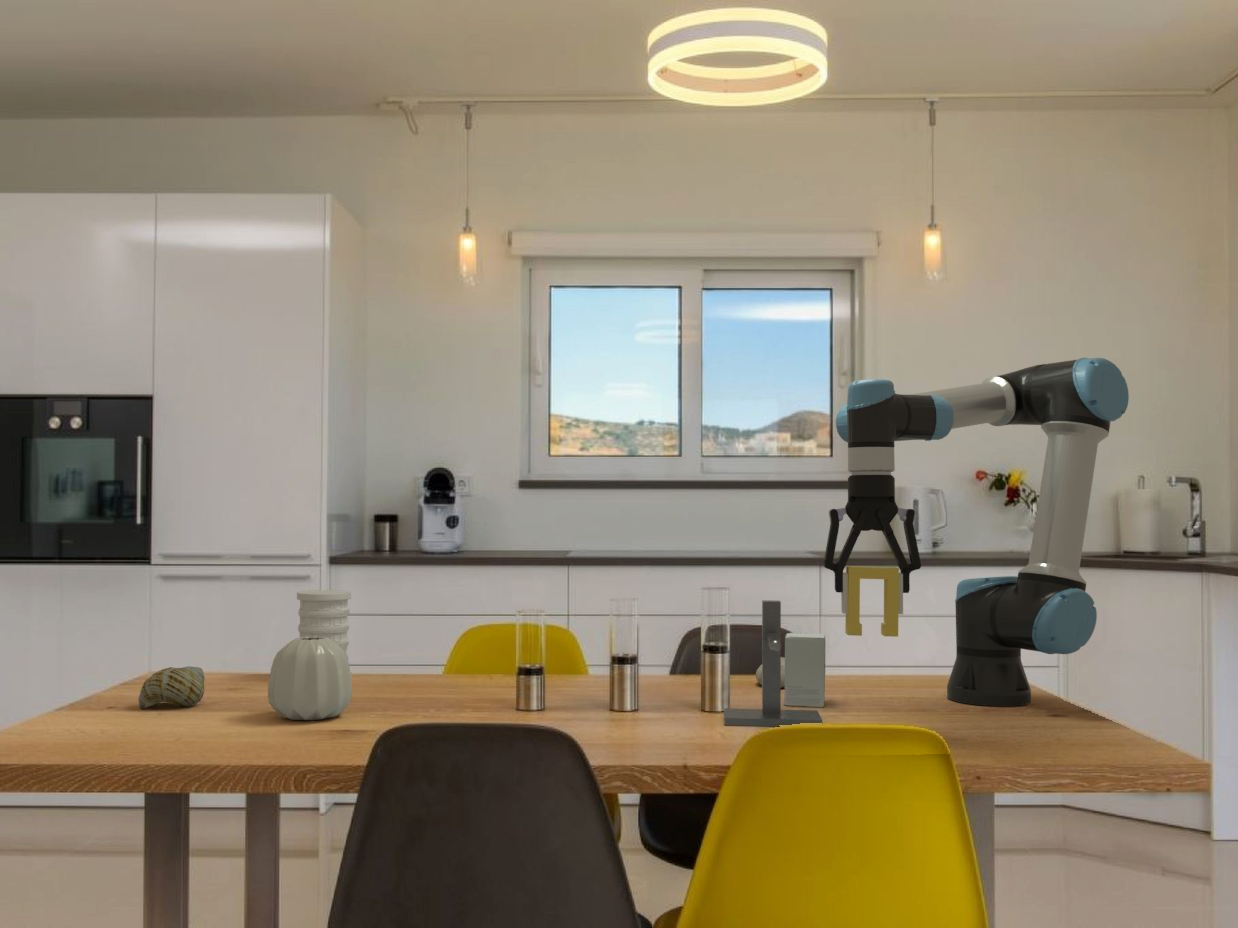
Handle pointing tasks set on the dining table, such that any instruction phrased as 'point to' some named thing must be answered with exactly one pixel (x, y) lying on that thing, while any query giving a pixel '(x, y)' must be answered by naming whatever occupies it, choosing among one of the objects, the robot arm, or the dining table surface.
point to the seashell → (173, 687)
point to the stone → (759, 673)
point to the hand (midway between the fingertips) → (872, 612)
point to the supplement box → (804, 669)
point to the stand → (770, 681)
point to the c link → (890, 598)
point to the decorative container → (325, 615)
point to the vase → (310, 680)
